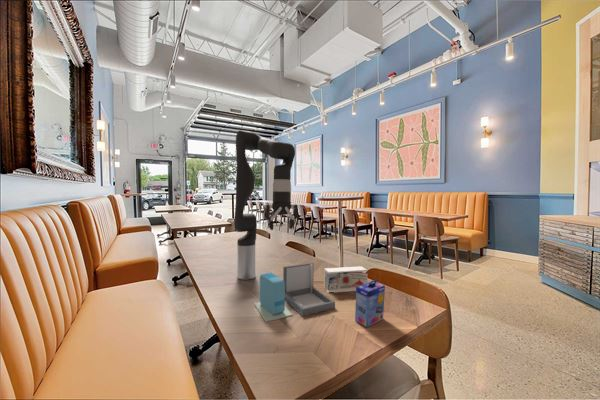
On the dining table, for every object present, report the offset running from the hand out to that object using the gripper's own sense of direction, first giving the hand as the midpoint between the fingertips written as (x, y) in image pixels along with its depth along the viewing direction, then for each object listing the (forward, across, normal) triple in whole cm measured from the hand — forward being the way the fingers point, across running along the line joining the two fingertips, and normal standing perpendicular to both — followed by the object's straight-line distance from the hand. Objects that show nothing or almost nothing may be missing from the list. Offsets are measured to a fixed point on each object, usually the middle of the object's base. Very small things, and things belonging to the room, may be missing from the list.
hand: (281, 229), depth 103 cm
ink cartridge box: (+28, -22, +31) cm, 47 cm away
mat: (+29, +7, +10) cm, 31 cm away
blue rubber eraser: (+28, +7, +10) cm, 31 cm away
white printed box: (+29, -31, +5) cm, 43 cm away
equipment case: (+29, -8, +10) cm, 32 cm away
